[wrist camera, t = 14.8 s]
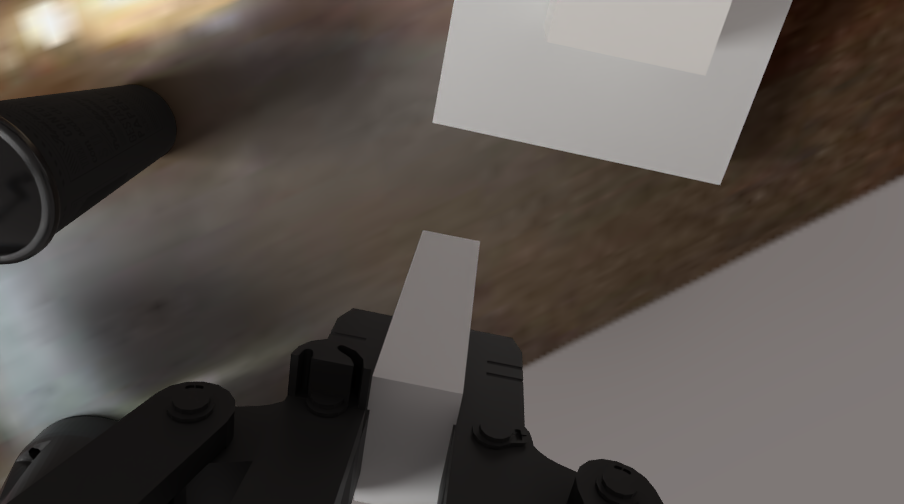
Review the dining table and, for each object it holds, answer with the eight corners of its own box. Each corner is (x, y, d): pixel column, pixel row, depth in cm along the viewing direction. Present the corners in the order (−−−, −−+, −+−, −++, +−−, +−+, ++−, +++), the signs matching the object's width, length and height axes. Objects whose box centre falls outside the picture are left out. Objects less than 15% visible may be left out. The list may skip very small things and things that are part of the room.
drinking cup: (184, 59, 39) (-118, 139, 21) (208, 178, 42) (-37, 339, 24) (69, 61, 40) (-317, 139, 22) (101, 178, 43) (-214, 332, 25)
